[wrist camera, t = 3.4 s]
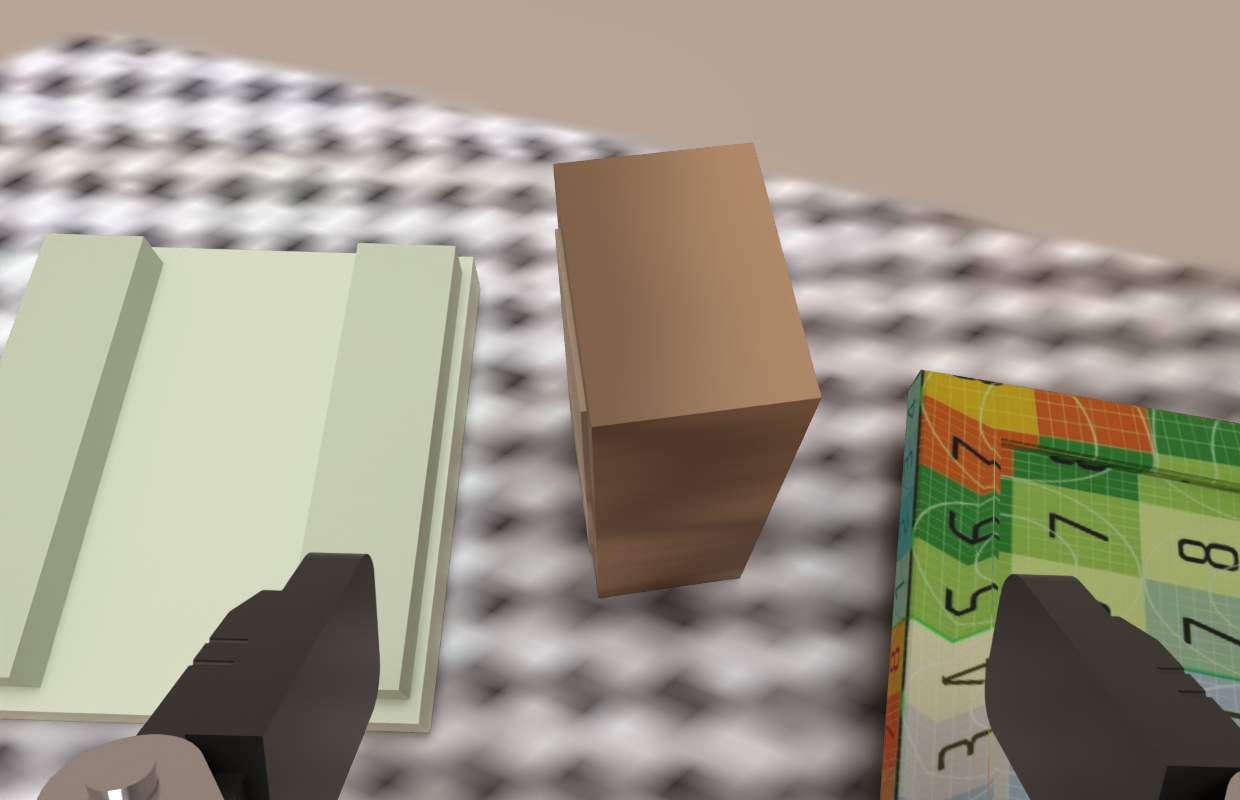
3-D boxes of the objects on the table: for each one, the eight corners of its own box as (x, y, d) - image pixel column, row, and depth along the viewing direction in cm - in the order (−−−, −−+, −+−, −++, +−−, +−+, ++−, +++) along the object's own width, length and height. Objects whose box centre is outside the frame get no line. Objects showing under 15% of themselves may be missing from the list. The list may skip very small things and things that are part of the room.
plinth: (480, 287, 27) (467, 230, 24) (430, 732, 22) (408, 716, 19) (93, 275, 27) (42, 217, 24) (-51, 717, 22) (-134, 698, 19)
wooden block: (702, 397, 25) (753, 141, 16) (740, 577, 23) (821, 398, 14) (569, 414, 25) (547, 164, 16) (594, 598, 23) (584, 428, 14)
